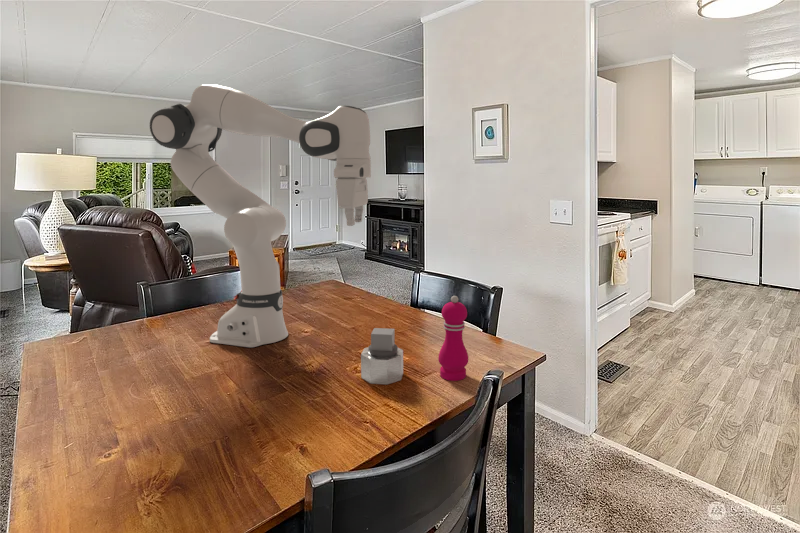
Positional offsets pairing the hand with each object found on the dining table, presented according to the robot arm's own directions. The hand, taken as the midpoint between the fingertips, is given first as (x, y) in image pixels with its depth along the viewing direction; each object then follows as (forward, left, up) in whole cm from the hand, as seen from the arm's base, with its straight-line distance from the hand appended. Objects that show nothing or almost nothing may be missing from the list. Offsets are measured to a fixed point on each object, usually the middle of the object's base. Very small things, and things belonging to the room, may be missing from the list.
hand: (354, 223), depth 124 cm
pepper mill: (+27, -15, -35) cm, 47 cm away
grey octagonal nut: (+10, -17, -35) cm, 40 cm away
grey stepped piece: (+10, -17, -32) cm, 38 cm away
